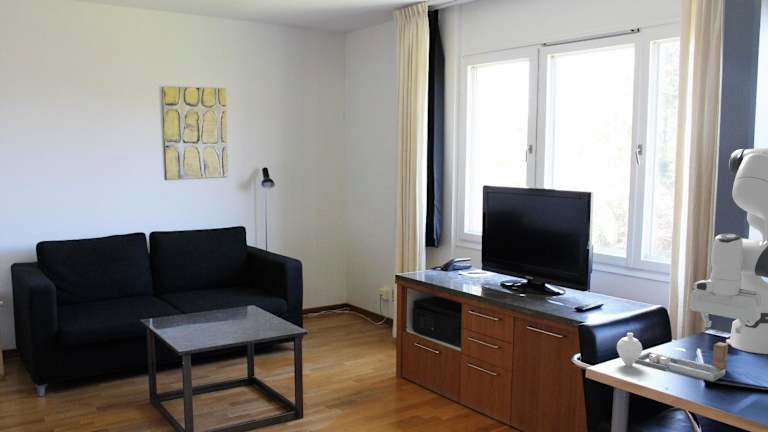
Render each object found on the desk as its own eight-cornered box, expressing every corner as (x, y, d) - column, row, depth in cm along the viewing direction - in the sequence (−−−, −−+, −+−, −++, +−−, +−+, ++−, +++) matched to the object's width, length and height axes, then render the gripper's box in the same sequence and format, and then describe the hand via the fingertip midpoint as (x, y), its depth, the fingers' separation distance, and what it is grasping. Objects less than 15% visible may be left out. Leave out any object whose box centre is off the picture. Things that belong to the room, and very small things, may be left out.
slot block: (679, 368, 219) (680, 357, 219) (724, 379, 209) (725, 368, 208) (666, 374, 213) (667, 363, 213) (712, 386, 203) (713, 375, 202)
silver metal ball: (660, 364, 221) (660, 355, 220) (671, 366, 219) (671, 357, 218) (657, 367, 218) (657, 358, 218) (668, 369, 216) (668, 360, 216)
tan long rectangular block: (717, 372, 215) (719, 342, 214) (725, 374, 214) (727, 343, 213) (711, 375, 212) (713, 344, 211) (719, 377, 211) (722, 346, 210)
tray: (648, 359, 228) (648, 352, 228) (681, 367, 220) (681, 360, 219) (632, 366, 221) (632, 358, 220) (665, 375, 212) (665, 366, 212)
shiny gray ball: (652, 362, 223) (652, 353, 223) (661, 364, 221) (662, 355, 220) (646, 364, 221) (647, 355, 221) (656, 366, 219) (657, 357, 218)
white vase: (619, 364, 222) (620, 328, 221) (643, 369, 218) (645, 332, 217) (612, 370, 216) (614, 333, 214) (637, 375, 212) (639, 337, 210)
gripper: (765, 290, 205) (762, 334, 207) (697, 279, 220) (695, 321, 222) (757, 294, 201) (754, 339, 203) (688, 282, 216) (686, 325, 218)
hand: (723, 329), depth 212 cm, fingers open, 8 cm apart
